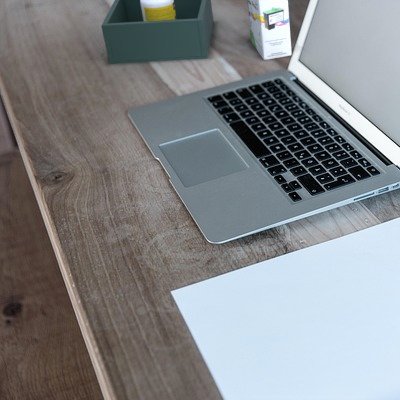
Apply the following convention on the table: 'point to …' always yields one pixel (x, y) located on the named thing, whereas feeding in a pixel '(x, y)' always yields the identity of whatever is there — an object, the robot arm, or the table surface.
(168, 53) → the bin
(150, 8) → the supplement bottle
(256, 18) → the ink box
